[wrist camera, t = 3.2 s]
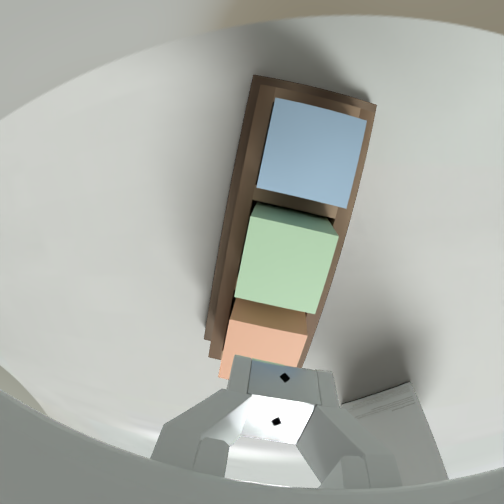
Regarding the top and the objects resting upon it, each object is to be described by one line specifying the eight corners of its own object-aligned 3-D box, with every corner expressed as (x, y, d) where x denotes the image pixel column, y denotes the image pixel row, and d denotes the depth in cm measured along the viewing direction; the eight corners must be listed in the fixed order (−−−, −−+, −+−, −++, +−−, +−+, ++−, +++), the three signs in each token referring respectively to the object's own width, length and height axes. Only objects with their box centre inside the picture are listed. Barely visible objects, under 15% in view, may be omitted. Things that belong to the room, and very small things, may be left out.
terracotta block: (303, 300, 24) (307, 335, 19) (287, 351, 26) (287, 391, 21) (239, 286, 24) (229, 319, 19) (229, 339, 26) (218, 377, 21)
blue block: (348, 126, 20) (366, 120, 15) (332, 195, 21) (346, 208, 17) (277, 109, 20) (275, 97, 15) (262, 179, 22) (256, 187, 17)
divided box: (371, 107, 23) (395, 96, 17) (303, 351, 31) (306, 391, 25) (254, 78, 23) (247, 59, 18) (207, 331, 31) (192, 367, 25)
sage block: (326, 217, 22) (338, 236, 17) (309, 281, 24) (315, 314, 19) (257, 201, 22) (250, 216, 17) (243, 267, 24) (234, 296, 19)
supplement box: (338, 402, 33) (354, 512, 19) (410, 379, 31) (452, 479, 17) (351, 443, 35) (364, 536, 21) (414, 423, 34) (443, 511, 19)
